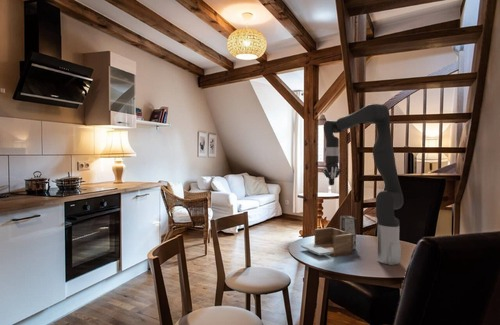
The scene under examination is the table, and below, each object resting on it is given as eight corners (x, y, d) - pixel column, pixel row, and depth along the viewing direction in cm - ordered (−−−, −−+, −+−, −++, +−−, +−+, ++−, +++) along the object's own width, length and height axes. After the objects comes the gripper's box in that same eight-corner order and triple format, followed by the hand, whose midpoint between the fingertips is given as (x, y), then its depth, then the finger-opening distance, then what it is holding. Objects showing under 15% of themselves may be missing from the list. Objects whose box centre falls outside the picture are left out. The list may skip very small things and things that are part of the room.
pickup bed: (352, 254, 158) (353, 234, 158) (333, 257, 153) (334, 236, 152) (331, 245, 172) (331, 227, 172) (313, 248, 167) (313, 229, 167)
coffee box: (356, 249, 166) (357, 218, 166) (343, 249, 166) (344, 218, 166) (351, 244, 175) (351, 215, 175) (339, 244, 175) (340, 215, 175)
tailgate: (332, 251, 153) (319, 253, 149) (332, 255, 153) (319, 257, 149) (312, 243, 166) (301, 245, 163) (312, 246, 166) (301, 248, 163)
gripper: (327, 155, 176) (326, 186, 176) (345, 155, 182) (344, 185, 182) (318, 155, 183) (318, 184, 183) (336, 155, 188) (336, 184, 189)
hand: (331, 185), depth 183 cm, fingers closed
